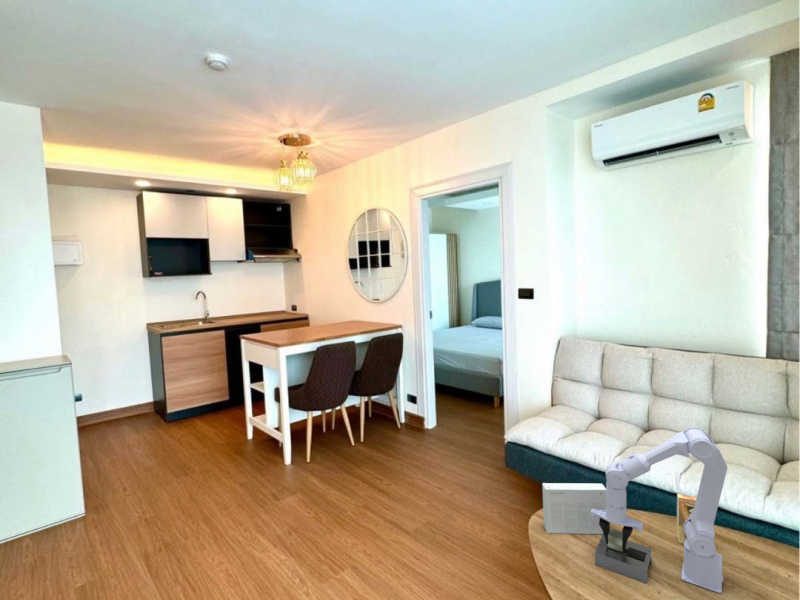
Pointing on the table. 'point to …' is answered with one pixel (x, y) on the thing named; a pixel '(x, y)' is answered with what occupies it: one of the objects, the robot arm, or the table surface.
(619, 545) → the peg
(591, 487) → the skincare box
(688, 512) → the candy box
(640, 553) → the keyhole bracket
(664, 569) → the table surface
